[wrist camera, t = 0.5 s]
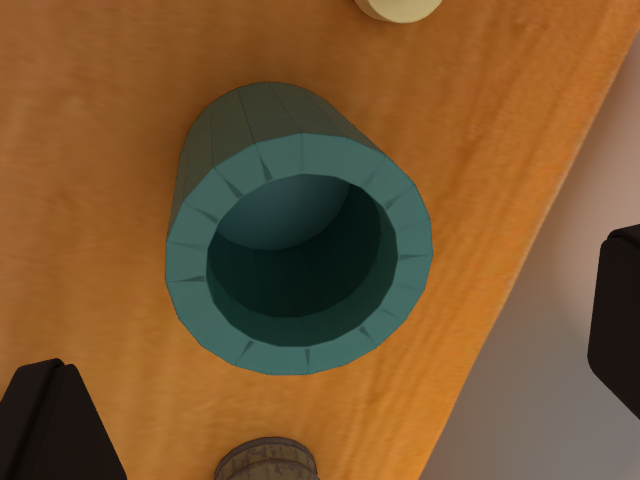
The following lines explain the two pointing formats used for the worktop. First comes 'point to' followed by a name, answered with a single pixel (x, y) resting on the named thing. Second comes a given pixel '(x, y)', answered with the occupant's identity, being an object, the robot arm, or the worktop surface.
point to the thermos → (268, 461)
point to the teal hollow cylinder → (291, 234)
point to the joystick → (398, 9)
